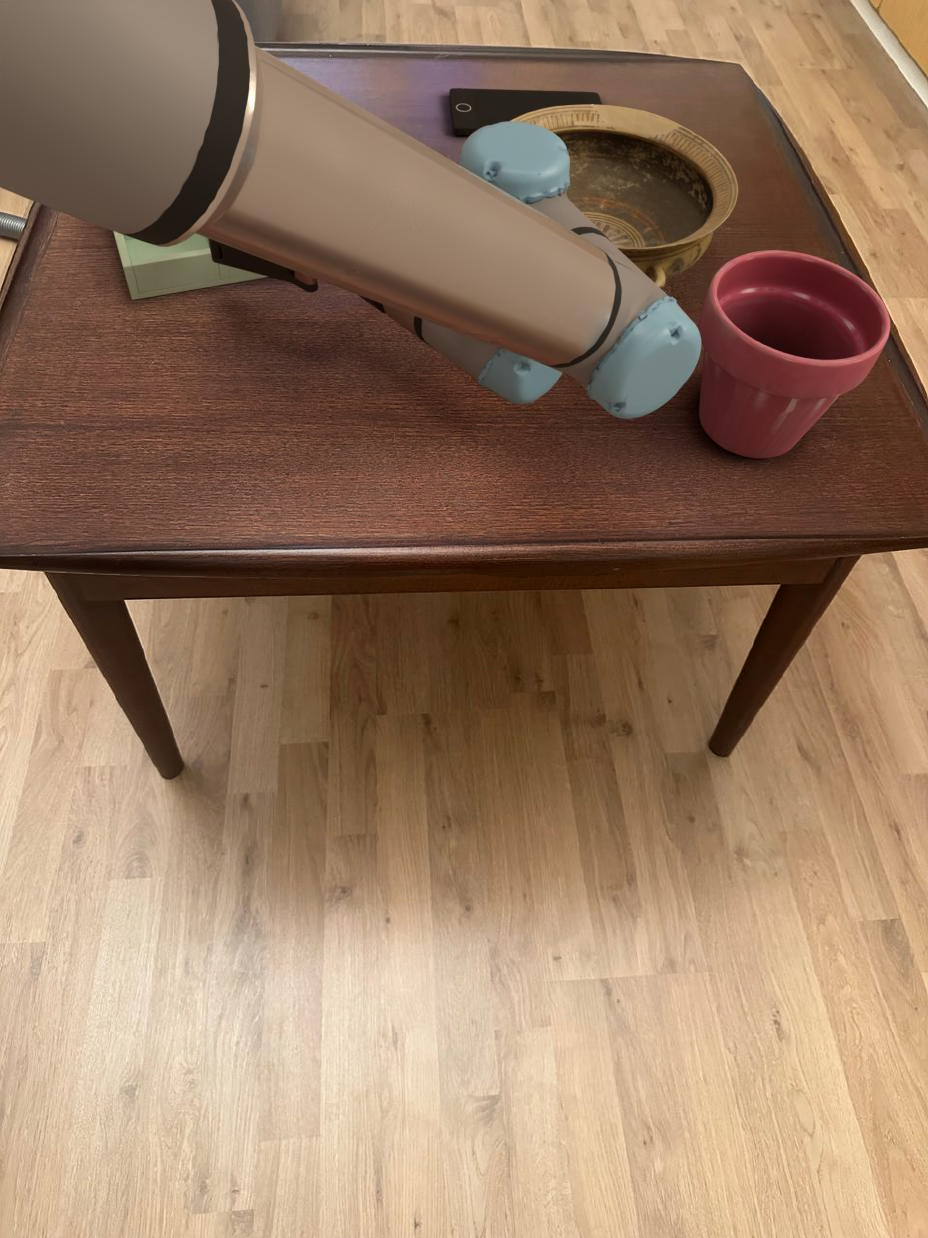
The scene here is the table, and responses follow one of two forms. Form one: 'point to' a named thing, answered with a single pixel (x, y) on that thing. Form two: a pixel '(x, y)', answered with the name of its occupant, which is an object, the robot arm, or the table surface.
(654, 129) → the ceramic bowl
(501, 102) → the cell phone
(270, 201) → the robot arm
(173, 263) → the divided tray
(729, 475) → the table surface
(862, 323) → the flower pot
